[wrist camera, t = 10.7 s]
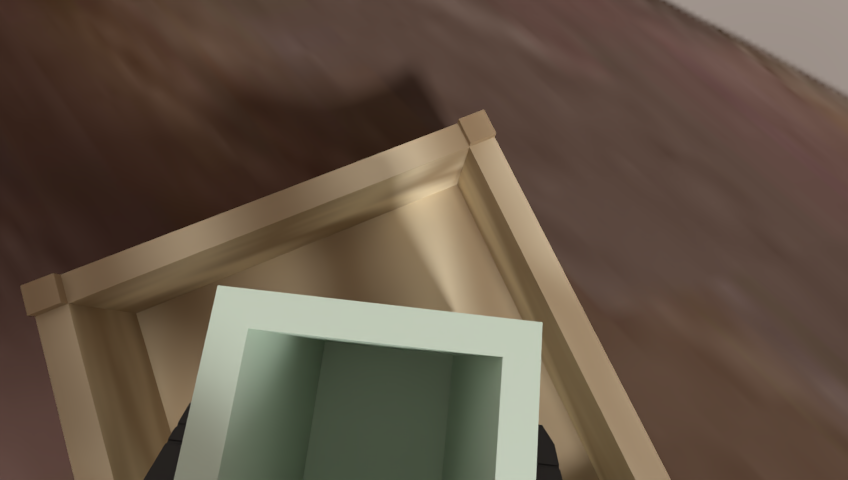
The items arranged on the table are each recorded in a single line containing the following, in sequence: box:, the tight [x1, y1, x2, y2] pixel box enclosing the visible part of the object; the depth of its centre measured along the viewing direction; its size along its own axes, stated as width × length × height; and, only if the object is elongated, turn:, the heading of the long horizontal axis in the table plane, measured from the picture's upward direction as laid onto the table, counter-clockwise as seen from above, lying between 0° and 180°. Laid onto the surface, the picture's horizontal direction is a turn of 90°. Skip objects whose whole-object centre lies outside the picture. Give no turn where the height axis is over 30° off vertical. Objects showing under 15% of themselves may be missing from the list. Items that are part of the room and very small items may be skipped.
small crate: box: [174, 285, 543, 480], centre depth 12 cm, size 6×8×9 cm
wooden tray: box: [20, 110, 671, 480], centre depth 15 cm, size 16×18×5 cm
